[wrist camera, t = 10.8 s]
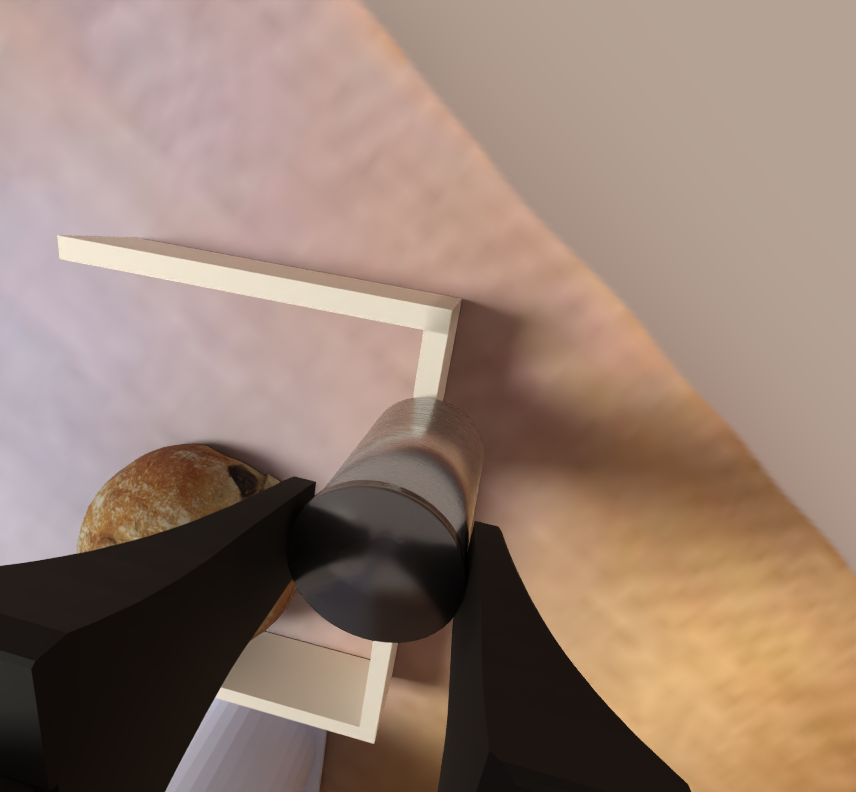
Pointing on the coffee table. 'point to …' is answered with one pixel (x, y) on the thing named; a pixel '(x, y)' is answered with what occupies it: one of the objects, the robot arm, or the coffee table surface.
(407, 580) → the grey tin
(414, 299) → the cream low open frame
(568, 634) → the coffee table surface
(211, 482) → the bread roll
